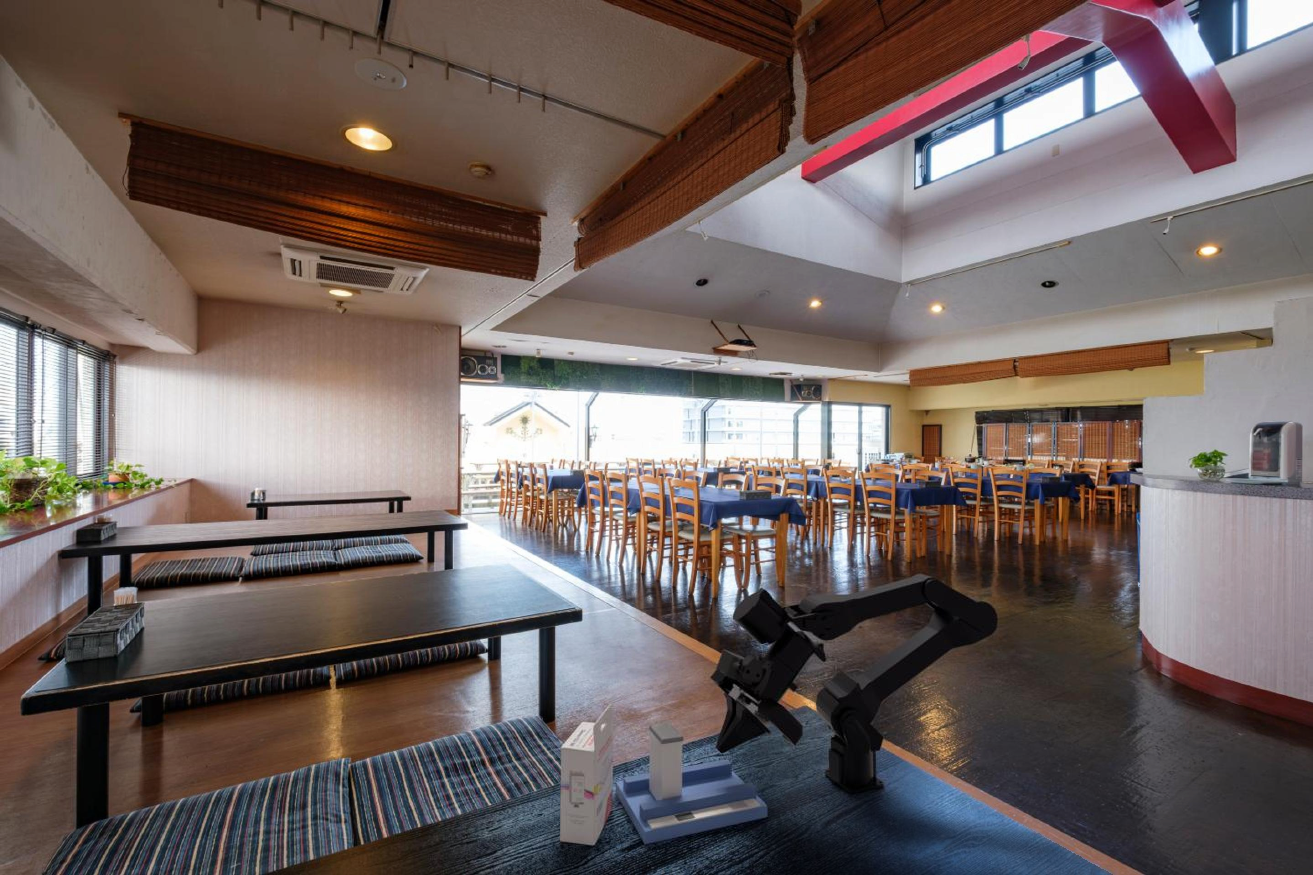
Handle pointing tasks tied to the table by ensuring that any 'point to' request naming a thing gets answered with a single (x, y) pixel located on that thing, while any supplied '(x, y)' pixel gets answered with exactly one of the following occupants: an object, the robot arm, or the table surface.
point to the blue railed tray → (691, 802)
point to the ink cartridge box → (587, 780)
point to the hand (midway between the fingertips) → (718, 750)
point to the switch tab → (665, 761)
